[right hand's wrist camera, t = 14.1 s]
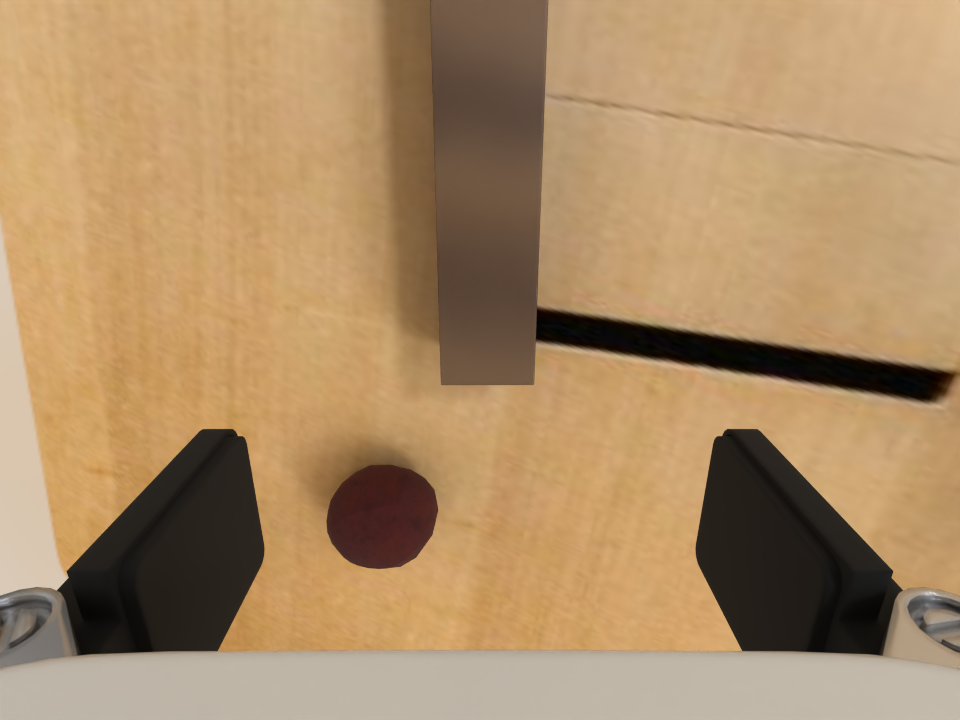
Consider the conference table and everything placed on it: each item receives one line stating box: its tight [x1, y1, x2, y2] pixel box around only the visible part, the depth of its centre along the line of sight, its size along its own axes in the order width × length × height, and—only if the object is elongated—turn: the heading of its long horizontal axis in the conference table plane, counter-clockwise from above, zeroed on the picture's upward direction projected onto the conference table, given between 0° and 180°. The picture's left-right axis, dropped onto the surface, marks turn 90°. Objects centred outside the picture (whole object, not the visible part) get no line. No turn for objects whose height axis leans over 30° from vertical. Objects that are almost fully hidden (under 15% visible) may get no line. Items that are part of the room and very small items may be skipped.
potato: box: [327, 465, 438, 569], centre depth 40 cm, size 7×8×7 cm
